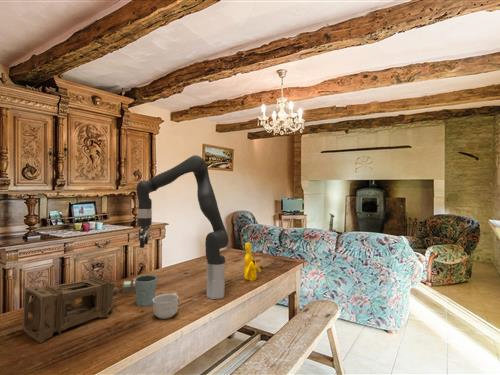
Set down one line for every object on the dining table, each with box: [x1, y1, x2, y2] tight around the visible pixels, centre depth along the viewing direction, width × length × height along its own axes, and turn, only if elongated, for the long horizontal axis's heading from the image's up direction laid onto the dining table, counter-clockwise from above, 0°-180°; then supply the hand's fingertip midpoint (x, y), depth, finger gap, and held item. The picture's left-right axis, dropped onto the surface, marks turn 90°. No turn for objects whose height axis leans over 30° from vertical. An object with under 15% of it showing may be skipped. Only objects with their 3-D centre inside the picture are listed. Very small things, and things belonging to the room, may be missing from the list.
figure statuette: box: [243, 242, 262, 282], centre depth 182 cm, size 18×8×22 cm, turn 147°
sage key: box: [124, 281, 131, 287], centre depth 159 cm, size 5×3×2 cm
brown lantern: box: [22, 274, 120, 344], centre depth 125 cm, size 35×18×18 cm, turn 145°
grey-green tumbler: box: [134, 274, 158, 307], centre depth 144 cm, size 10×10×12 cm
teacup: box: [152, 292, 179, 320], centre depth 132 cm, size 14×11×8 cm
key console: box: [121, 277, 136, 294], centre depth 163 cm, size 12×14×4 cm
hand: (143, 245), depth 166 cm, fingers open, 8 cm apart
